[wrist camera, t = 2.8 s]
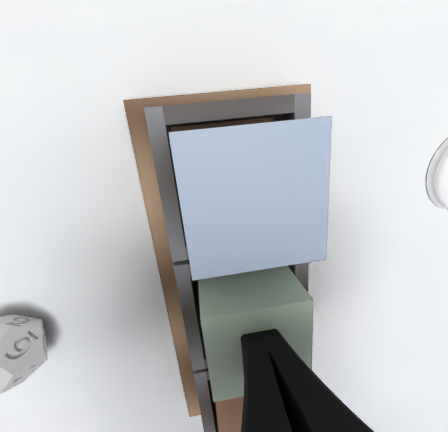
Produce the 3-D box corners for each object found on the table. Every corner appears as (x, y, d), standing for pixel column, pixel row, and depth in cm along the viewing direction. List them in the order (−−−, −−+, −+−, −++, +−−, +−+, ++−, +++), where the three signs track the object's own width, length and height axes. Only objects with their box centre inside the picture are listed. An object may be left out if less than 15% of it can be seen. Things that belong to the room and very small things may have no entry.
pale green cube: (281, 320, 13) (311, 382, 10) (207, 334, 13) (213, 402, 10) (279, 254, 12) (313, 299, 9) (197, 267, 12) (200, 319, 8)
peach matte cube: (287, 411, 15) (316, 492, 11) (220, 425, 14) (230, 513, 11) (286, 360, 13) (318, 434, 10) (212, 374, 13) (220, 457, 10)
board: (298, 376, 18) (323, 430, 15) (189, 398, 17) (189, 460, 14) (299, 88, 12) (341, 70, 9) (129, 103, 11) (105, 90, 8)
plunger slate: (283, 221, 11) (326, 259, 7) (191, 234, 10) (192, 280, 7) (281, 122, 9) (332, 115, 6) (176, 133, 9) (168, 132, 6)
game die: (66, 309, 14) (34, 353, 11) (54, 359, 15) (22, 411, 12) (-5, 295, 13) (-58, 338, 10) (-13, 348, 14) (-63, 401, 11)
